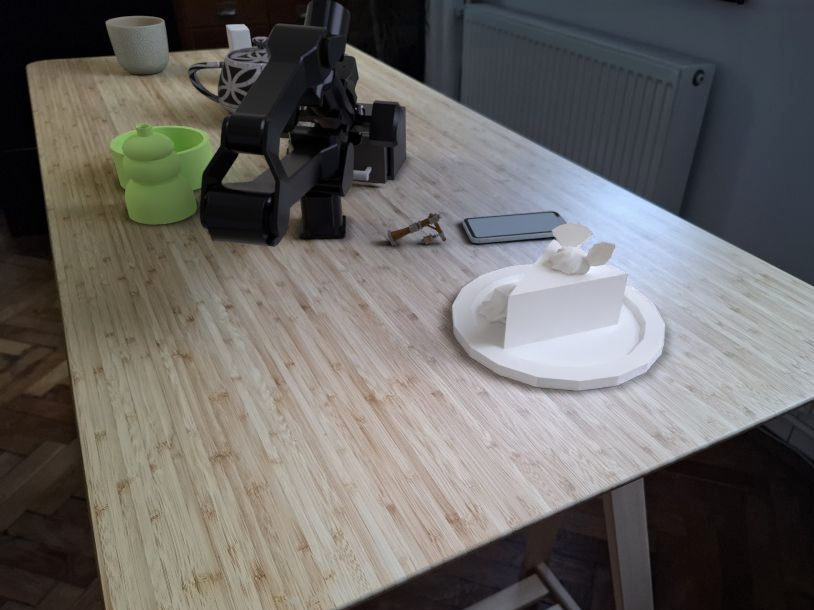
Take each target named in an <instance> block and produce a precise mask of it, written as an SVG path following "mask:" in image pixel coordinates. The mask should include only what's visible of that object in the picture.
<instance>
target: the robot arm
mask: <svg viewBox="0 0 814 610" xmlns="http://www.w3.org/2000/svg"><path fill="white" fill-rule="evenodd" d="M306 6H307V7H306V12H305V17H304V18H305V19H304V24H303V25H302V24H290V23H289V24H287V23H276V24H275V25H274V26H273V28H272V29H271V31H270V33H269V34H268V36H267V37H268V40H267V41H266V52H267V55H268V59H269V60H268V63H267V64H266V66H265V67H264V69H263V70H262V72H261V73H260V75H259V76H258V78H257V79H256V81H255V82H254V84H253V85H252V87H251V88H250V90H249V91H248V93H247V94H246V96H245V97H244V99H243V100H242V102H241V103H240V105H239V106H238V108H237V109H236V111H235V112H234V113H233V114H231V115H230V114H226V115H225V116H224V118H223V120H222V122H221V127H220V128H221V129H220V142H219V143H220V145H219V146H218V147H217V150H216V151H215V152H214V154H213V155H212V156H213V157H212V159H211V161H210V162H209V164H208V165H207V167H206V168H205V170H204V171H203V174H202V182H201V188H200V198H199V199H200V200H199V220H200V224H201V227H202V228H203V229H204V230H206V231H207V232H208V234H209V237H210V239H211V241H213V242H220V243H229V244H230V243H232V244H242V245H250V246H251V245H252V246H260V247H261V246H262V247H273V248H275V247H277V246H278V245H279V244H280V243H281V242H282V240H283V239H284V237H286V235H287V233H288V231H289V229H290V216H291V208H293V206H294V205H295V204H297V202H300V203H299V205H300V213H301V217H300V223H299V230H298V237H299V239H331V238H332V239H333V238H345V237H347V216H346V215H344V214H343V204H342V198H344V197H346V195H348V193H349V192H350V190H351V188H352V187H353V185H354V181H353V170H354V147H353V146H359V145H360V144H361V143H362V136H363V133H369V140H370V143H371V144H373V145H376V146H381V147H392V148H394V147H396V146H397V145H398V144H399V137H400V130H401V123H402V116H403V111H402V107H401V106H402V105H401V104H400V103H399V101H392V100H390V101H389V100H379V99H375V100H374V101H373V102H372V104H373V107H372V114H371V115H366V112H365V109H364V108H363V107H362V105H360V104H356V103H358V95H357V93H356V87H357V84H358V81H359V79H360V76H359V71H358V66H357V65H358V64H357V59H356V58H355V56H353V55H348V56H347V55H345V54H346V49H347V43H348V34H349V28H350V23H351V12H350V10H349V9H347V8H346V7H345V6H343V5H342V4H341V3H339V2H337V1H334V0H311V1H309V2H308V3H307V5H306ZM300 106H301V110H300ZM299 122H303V123H310V126H308V125H298V123H299ZM281 139H287V143H288V144H287V148H286V152H285V156H283V157H282V158H281V159H280V146H281ZM239 154H243V155H252V156H253V155H254V156H263V157H264V159H265V162H266V165H267V166H268V168H267V169H265V171H263V172H261V173H260V174H259V175H257V176H256V177H255V178H253V179H252V180H250V181H237V182H226V183H225V182H224V183H223V180H224V179H225V177H226V176H227V175H228V172H229V171H230V169H231V168H232V166H233V165H234V164H235V162H236V161H237V159H238V157H239ZM335 178H339V179H335Z"/></svg>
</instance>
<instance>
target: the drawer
mask: <svg viewBox="0 0 814 610" xmlns="http://www.w3.org/2000/svg"><path fill="white" fill-rule="evenodd" d="M353 147H354V170H353V182H359V183H371V184H383V185H386V183H387V182H388V179H387V174H388V172H389V170H390V169H391V161H390V147H381V146H376V145H373V144H371V143H370V140H369V133H363V136H362V143H361V144H360V145H359V146H353ZM335 179H339V178H335Z"/></svg>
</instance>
